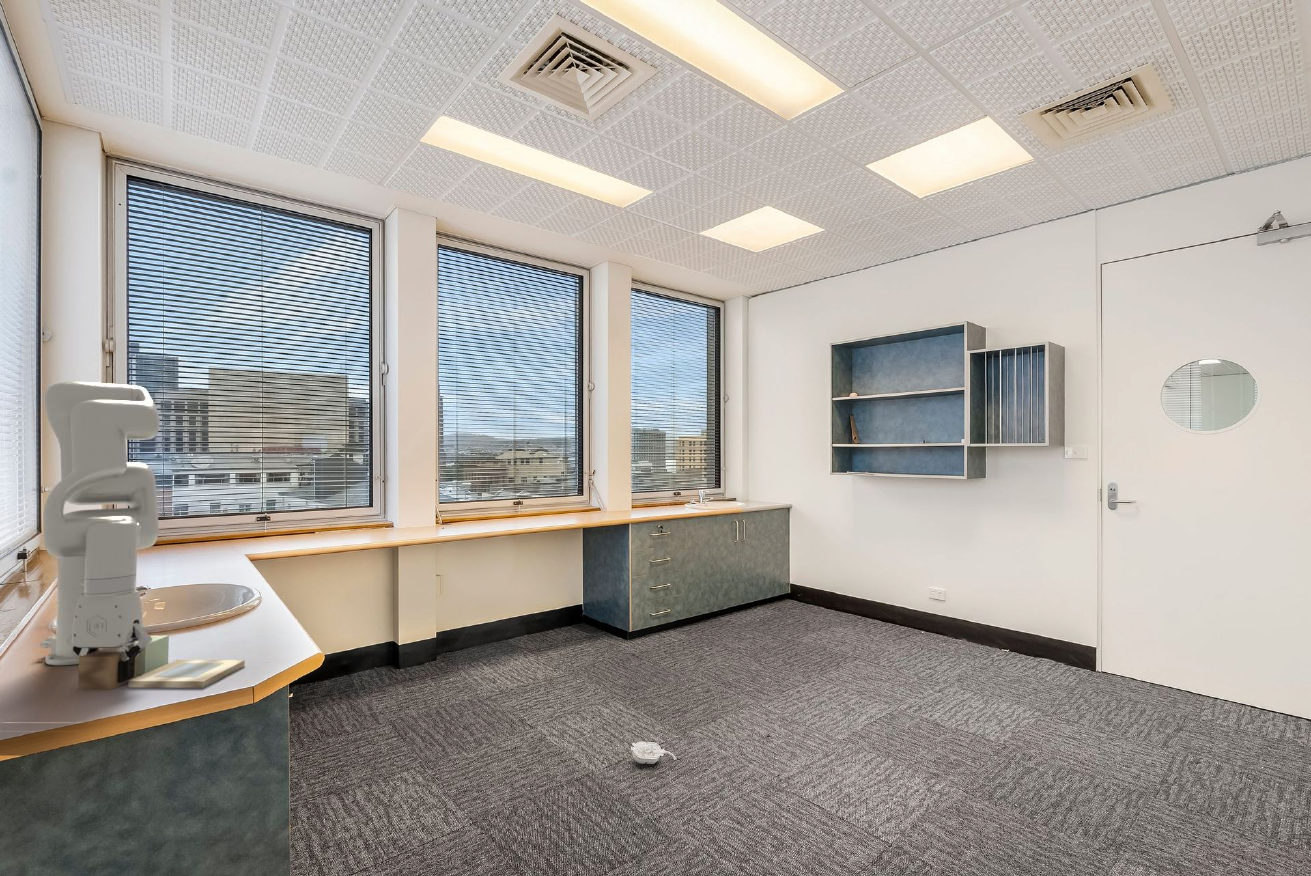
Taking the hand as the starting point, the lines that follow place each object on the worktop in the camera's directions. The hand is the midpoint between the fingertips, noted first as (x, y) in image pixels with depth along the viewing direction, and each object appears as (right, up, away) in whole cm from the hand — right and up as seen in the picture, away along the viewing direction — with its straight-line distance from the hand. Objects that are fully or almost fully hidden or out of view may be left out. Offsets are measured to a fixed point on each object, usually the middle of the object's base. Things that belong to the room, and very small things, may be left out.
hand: (108, 679), depth 120 cm
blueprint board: (+12, -1, +4) cm, 13 cm away
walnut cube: (0, -1, 0) cm, 1 cm away
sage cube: (0, -1, +8) cm, 8 cm away
